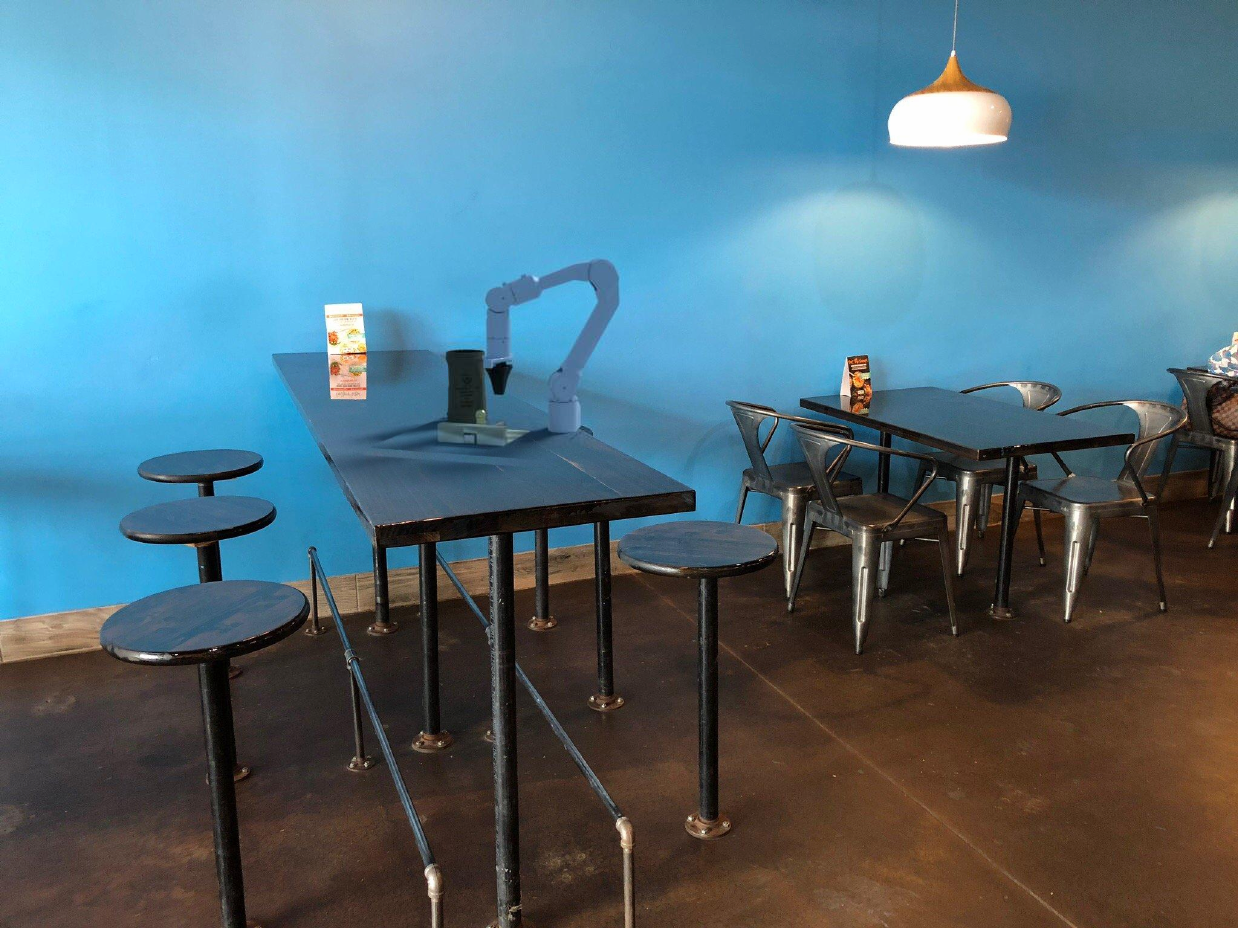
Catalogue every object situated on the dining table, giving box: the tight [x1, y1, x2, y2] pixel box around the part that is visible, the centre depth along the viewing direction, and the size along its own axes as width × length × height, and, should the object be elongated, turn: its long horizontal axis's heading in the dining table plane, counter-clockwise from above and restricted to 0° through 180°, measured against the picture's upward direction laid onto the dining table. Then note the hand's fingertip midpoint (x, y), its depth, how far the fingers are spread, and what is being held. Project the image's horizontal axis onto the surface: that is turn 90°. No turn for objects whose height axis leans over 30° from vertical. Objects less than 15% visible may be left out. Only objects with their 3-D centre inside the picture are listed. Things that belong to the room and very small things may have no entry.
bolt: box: [463, 410, 486, 444], centre depth 218 cm, size 8×2×6 cm, turn 165°
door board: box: [436, 420, 531, 447], centre depth 224 cm, size 18×16×6 cm
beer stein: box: [445, 348, 489, 424], centre depth 243 cm, size 15×11×20 cm
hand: (499, 394), depth 229 cm, fingers closed
